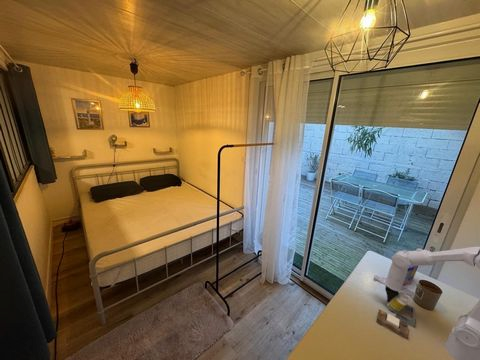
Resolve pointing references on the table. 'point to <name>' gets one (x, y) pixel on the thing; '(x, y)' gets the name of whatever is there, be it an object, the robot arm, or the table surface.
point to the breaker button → (392, 320)
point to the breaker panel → (402, 325)
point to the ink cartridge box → (410, 275)
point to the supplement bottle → (398, 302)
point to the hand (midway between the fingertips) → (388, 300)
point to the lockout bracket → (405, 319)
